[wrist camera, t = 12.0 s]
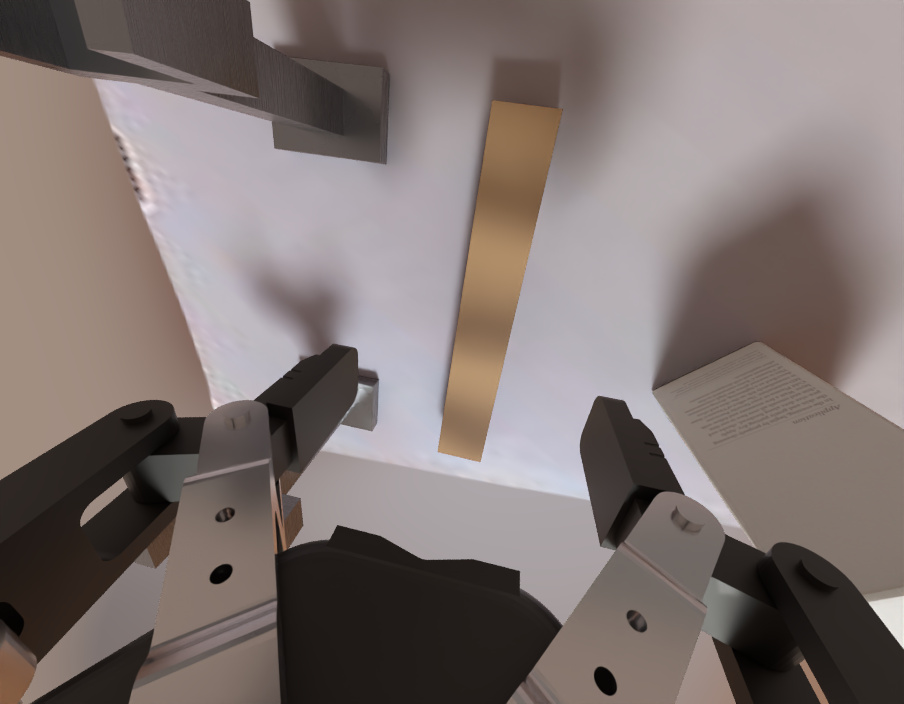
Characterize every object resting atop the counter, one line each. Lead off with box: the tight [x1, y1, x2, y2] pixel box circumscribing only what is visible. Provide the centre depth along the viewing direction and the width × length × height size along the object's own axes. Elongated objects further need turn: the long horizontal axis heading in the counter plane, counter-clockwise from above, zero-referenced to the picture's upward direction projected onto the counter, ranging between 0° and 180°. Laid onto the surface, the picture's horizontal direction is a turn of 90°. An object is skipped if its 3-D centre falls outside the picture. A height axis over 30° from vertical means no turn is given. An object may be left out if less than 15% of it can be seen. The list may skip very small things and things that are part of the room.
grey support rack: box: [0, 0, 389, 568], centre depth 16 cm, size 22×6×14 cm, turn 173°
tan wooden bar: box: [438, 100, 563, 462], centre depth 20 cm, size 20×3×3 cm, turn 172°
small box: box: [653, 342, 904, 649], centre depth 16 cm, size 8×6×13 cm
